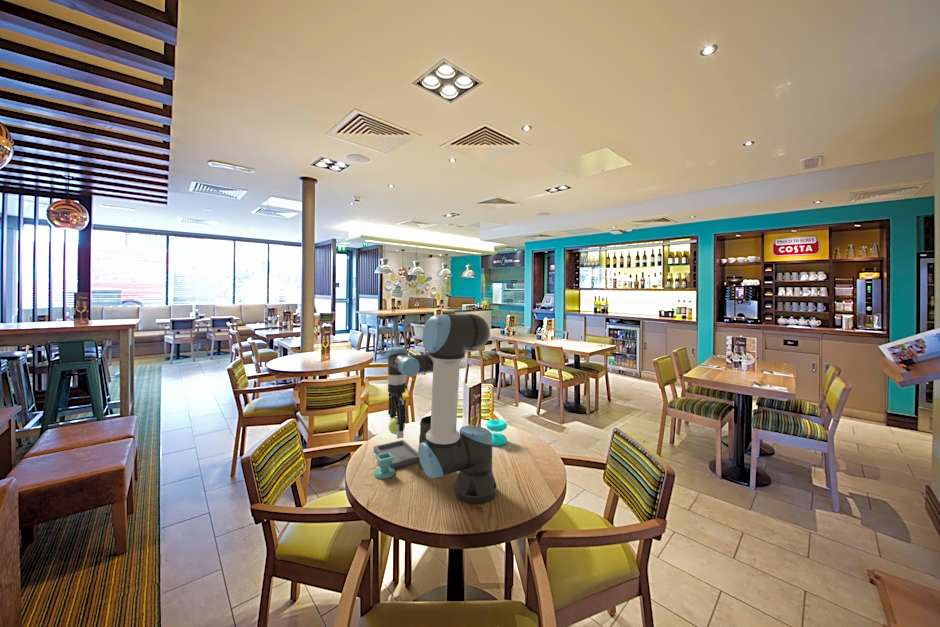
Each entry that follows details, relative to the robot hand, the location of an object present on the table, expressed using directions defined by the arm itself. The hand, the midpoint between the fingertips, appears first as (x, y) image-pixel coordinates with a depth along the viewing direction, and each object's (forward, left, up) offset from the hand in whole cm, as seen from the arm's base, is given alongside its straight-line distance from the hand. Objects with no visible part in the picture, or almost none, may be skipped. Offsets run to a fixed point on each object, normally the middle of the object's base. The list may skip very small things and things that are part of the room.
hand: (396, 434), depth 159 cm
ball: (0, 0, +4) cm, 4 cm away
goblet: (-12, +10, -10) cm, 18 cm away
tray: (0, 0, -10) cm, 10 cm away
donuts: (-11, -46, -10) cm, 48 cm away
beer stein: (-18, -10, -10) cm, 23 cm away
